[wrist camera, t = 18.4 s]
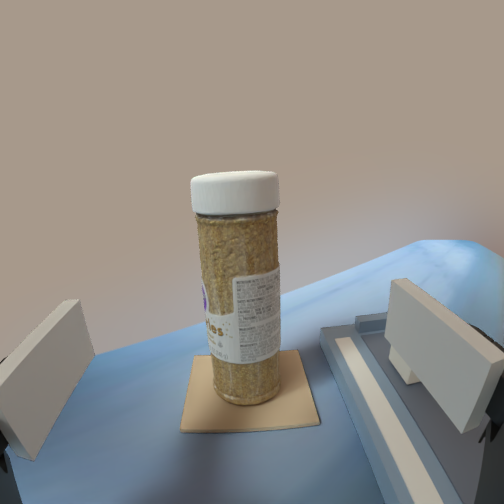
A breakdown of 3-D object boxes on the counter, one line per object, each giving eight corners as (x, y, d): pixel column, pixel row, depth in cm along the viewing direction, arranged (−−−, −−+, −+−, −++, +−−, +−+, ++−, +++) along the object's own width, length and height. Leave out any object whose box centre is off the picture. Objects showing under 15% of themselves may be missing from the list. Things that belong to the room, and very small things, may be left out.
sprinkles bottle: (205, 376, 21) (181, 175, 17) (264, 360, 23) (255, 169, 19) (228, 417, 17) (203, 175, 13) (295, 394, 19) (295, 169, 15)
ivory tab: (406, 384, 16) (418, 333, 15) (388, 358, 19) (396, 310, 18) (448, 373, 16) (462, 324, 15) (427, 350, 19) (437, 304, 18)
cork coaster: (180, 432, 16) (179, 429, 16) (194, 358, 24) (194, 355, 24) (319, 424, 16) (319, 421, 16) (297, 352, 24) (297, 349, 24)
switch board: (423, 609, 4) (450, 597, 3) (319, 343, 25) (321, 316, 24) (576, 504, 4) (602, 475, 3) (424, 328, 25) (428, 303, 24)
